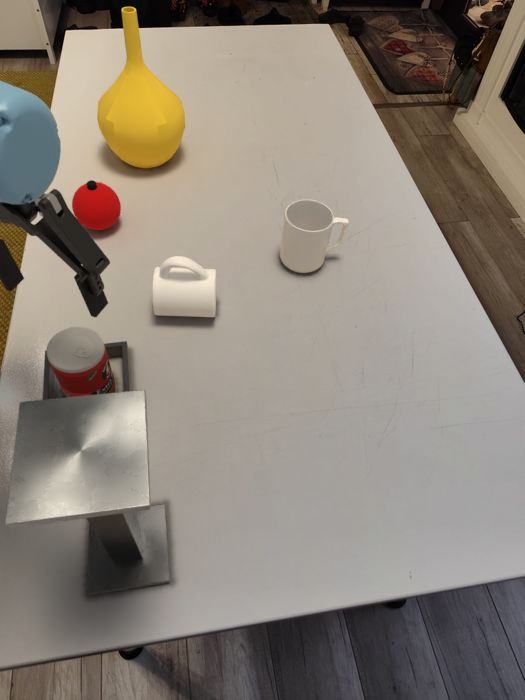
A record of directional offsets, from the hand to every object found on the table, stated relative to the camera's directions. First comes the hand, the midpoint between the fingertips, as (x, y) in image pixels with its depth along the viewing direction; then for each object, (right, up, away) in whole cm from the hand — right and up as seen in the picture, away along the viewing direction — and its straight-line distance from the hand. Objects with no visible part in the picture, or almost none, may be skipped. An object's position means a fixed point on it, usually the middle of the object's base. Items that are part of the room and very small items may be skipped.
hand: (56, 296), depth 67 cm
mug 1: (+13, +1, +26) cm, 29 cm away
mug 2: (+36, +11, +35) cm, 51 cm away
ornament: (-6, +18, +37) cm, 41 cm away
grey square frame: (0, -13, +14) cm, 19 cm away
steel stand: (+9, -33, +1) cm, 34 cm away
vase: (0, +37, +51) cm, 63 cm away
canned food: (0, -13, +15) cm, 20 cm away
